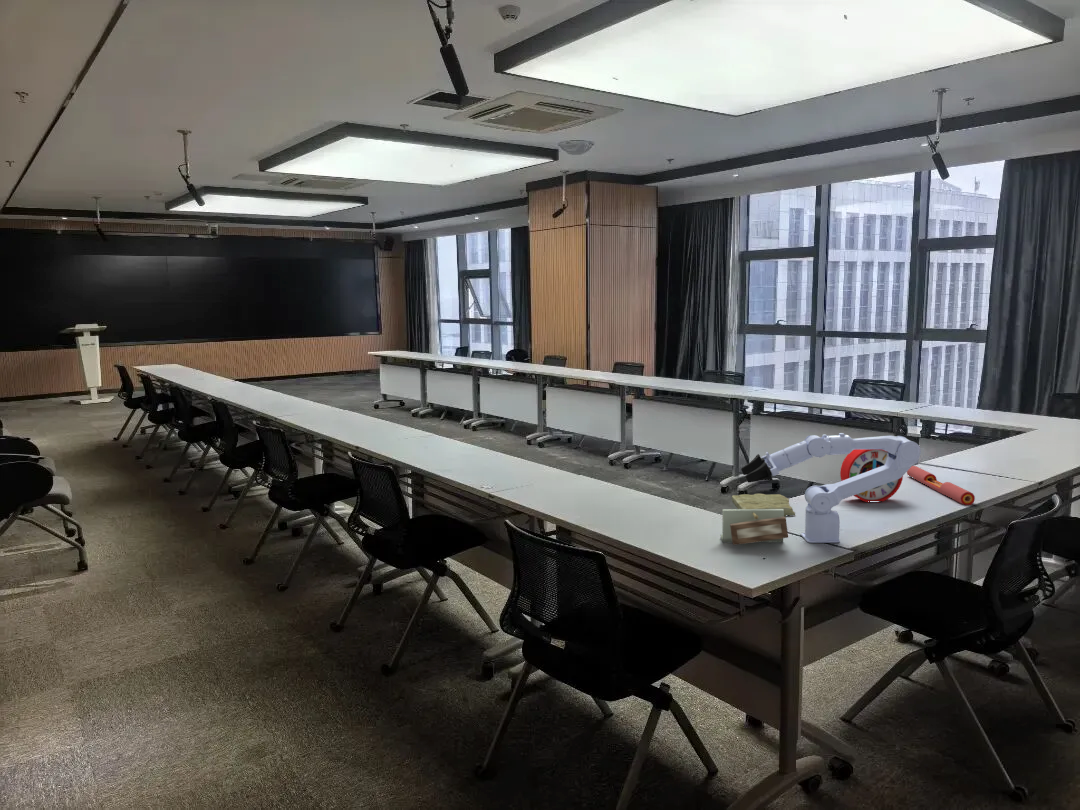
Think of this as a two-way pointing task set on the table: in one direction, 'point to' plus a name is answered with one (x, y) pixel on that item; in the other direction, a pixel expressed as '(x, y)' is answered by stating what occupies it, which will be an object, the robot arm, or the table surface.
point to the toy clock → (865, 462)
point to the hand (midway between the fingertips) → (744, 475)
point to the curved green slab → (746, 519)
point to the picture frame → (759, 530)
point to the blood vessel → (942, 486)
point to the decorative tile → (763, 502)
